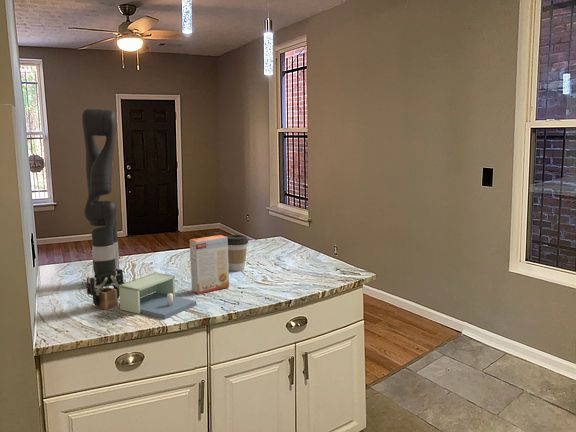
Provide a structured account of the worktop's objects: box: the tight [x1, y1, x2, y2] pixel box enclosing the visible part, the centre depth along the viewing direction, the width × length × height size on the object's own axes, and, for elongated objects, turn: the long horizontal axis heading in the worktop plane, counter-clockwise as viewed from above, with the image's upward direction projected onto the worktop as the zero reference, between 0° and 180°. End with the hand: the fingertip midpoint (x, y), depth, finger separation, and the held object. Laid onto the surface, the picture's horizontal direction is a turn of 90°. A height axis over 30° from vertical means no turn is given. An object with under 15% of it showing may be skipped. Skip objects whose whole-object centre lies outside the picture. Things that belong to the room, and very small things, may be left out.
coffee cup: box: [226, 234, 249, 272], centre depth 228 cm, size 11×11×15 cm
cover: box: [119, 272, 176, 314], centre depth 182 cm, size 9×18×9 cm, turn 150°
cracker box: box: [189, 234, 230, 295], centre depth 198 cm, size 14×6×21 cm, turn 127°
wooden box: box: [94, 286, 119, 311], centre depth 180 cm, size 5×5×6 cm
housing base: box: [140, 292, 197, 320], centre depth 180 cm, size 20×16×6 cm
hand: (106, 301), depth 180 cm, fingers open, 8 cm apart
